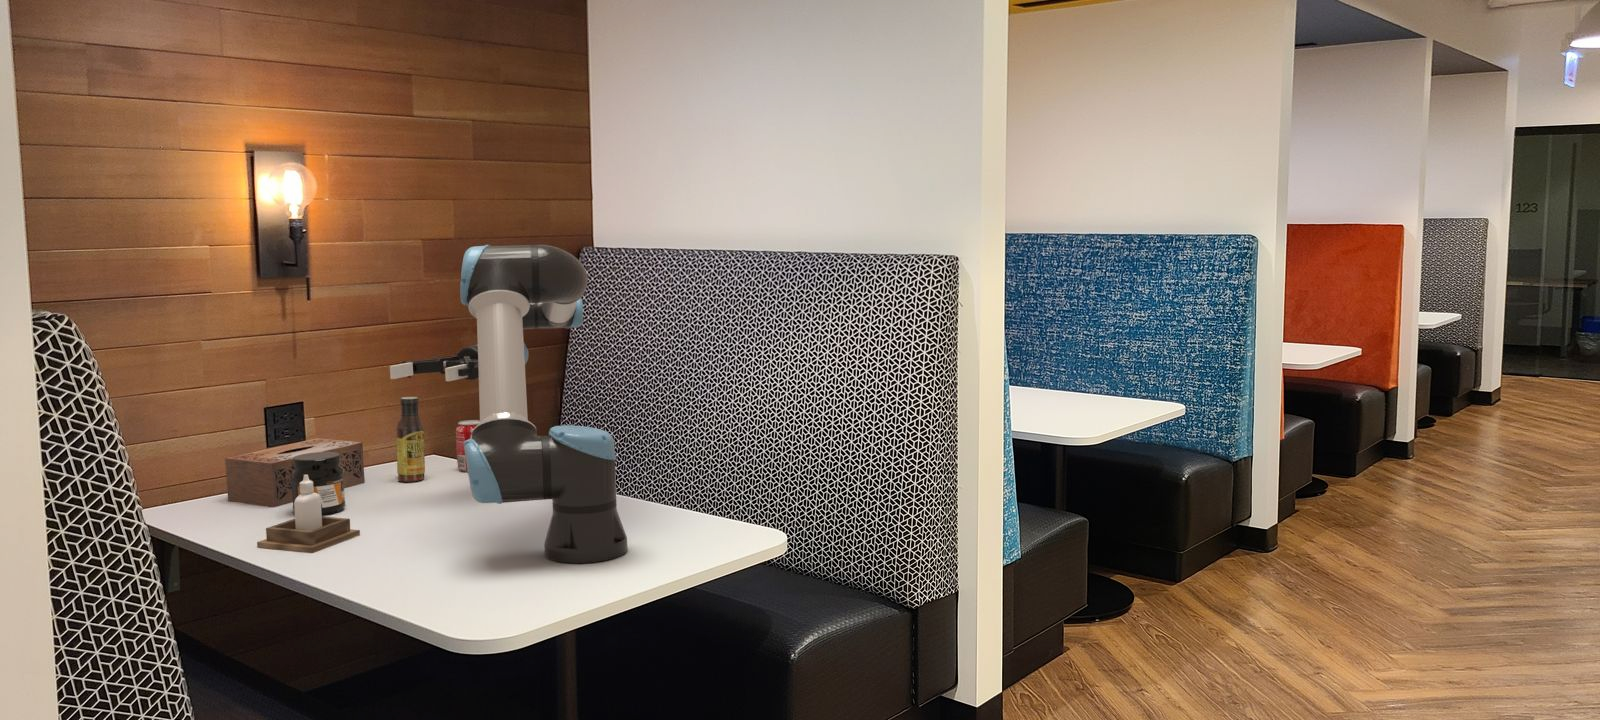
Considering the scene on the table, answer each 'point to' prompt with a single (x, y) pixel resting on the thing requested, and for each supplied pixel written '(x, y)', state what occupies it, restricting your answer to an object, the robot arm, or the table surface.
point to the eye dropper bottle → (307, 507)
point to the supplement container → (320, 479)
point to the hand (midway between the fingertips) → (418, 373)
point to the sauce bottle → (410, 443)
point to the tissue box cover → (285, 470)
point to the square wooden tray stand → (308, 535)
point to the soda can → (462, 435)
